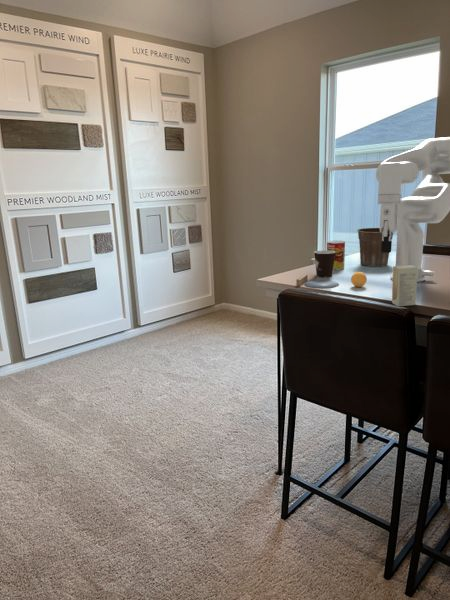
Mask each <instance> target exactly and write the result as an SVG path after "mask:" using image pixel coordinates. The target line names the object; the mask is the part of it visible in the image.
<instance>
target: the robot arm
mask: <svg viewBox="0 0 450 600" xmlns="http://www.w3.org/2000/svg"><path fill="white" fill-rule="evenodd" d="M420 172H421V174H422V179H421V182H420V183H418V185H417V187H415V188H414V190H413V191H412V193H411V196H407V197H403V198H402V187H403V186H402V185H409V184H413V183H414V182H416V181H417V179H418V178H419V176H420ZM445 174H447V175H449V174H450V136H446V137H436V138H435V137H434V138H428V139H426V140H423V141H422V142H421V143H419V145H417V146H416V147H414V148H413V149H410V150H407V151H404V152H401V153H400V154H396V155H394V156H391V157H389V158H386V159H385V160H384V161H382V162H381V163H380V164H379V165H378V167H377V169H376V172H375V179H376V181H377V183H378V191H377V205H380V214H379V228H380V232H381V233H382V245H381V252H385V253H389V254H390V253H391V252H392V245H393V243H392V242H393V241H392V240H393V237H392V233H393V234H394V233H396V232H397V233H396V249H395V250H396V251H395V264H394V266H406V265H413V266H415V267H417V283H419V282H424V281H425V280H426V276H427V277H434V276H435V275H434V274H435V271H434V270H433V271H431V270H425V269H423V267H422V266H423V265H422V264H423V253H424V252H423V249H424V239H425V238H424V237H425V233H424V231H423V228H422V227H421V225H420V224H439V223H440V222H442V221H444V219H445V218H446V217H447V215H448V214H449V213H450V182H444V180H443V178H442V177H441V176H440V175H445ZM390 280H392V281H393V274H391V275H390Z"/></svg>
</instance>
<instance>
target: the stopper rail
mask: <svg viewBox="0 0 450 600" xmlns="http://www.w3.org/2000/svg"><path fill="white" fill-rule="evenodd" d="M308 277H309V276H308V274H301V276H299V277H298V278H297V279H296V280H295V282H296V287H300V286H302V285H305V283H306V282H309V281H308Z"/></svg>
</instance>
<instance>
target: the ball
mask: <svg viewBox="0 0 450 600" xmlns="http://www.w3.org/2000/svg"><path fill="white" fill-rule="evenodd" d="M367 280H368V279H367V276H366V274H365V273H364V272H362V271H357V272H354V273H353V274H352V275H351V277H350V281H351V284H352V285H353V286H354V287H356V288H360V287H364V286H365V285H366V284H367Z"/></svg>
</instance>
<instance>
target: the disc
mask: <svg viewBox="0 0 450 600" xmlns="http://www.w3.org/2000/svg"><path fill="white" fill-rule="evenodd" d="M304 286H305V287H307V288H311V289H312V288H313V289H331V288H337V287H339V286H340V283H339V282H337V281H332V280H324V279H323V280H321V279H320V280H310V281H306V282H305V283H304ZM336 286H337V287H336Z"/></svg>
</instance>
